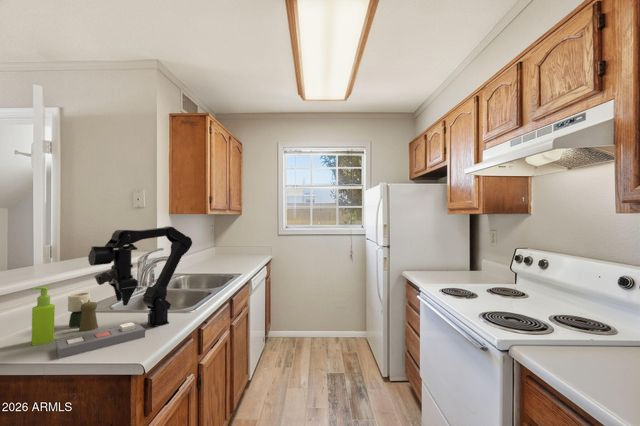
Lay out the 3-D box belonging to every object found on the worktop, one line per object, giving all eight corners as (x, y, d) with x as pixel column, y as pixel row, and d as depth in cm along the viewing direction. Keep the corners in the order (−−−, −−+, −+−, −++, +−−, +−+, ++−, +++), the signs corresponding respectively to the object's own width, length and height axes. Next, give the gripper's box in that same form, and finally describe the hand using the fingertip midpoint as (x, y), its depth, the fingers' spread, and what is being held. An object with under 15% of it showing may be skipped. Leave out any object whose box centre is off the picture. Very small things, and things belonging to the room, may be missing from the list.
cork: (87, 333, 116) (88, 304, 116) (74, 332, 117) (75, 304, 117) (101, 328, 122) (102, 300, 122) (89, 327, 123) (89, 300, 123)
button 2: (132, 330, 114) (132, 322, 114) (135, 332, 111) (135, 324, 111) (119, 333, 111) (119, 324, 111) (122, 335, 108) (122, 327, 108)
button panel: (137, 331, 117) (137, 322, 117) (144, 338, 110) (145, 329, 110) (55, 350, 100) (56, 340, 100) (59, 360, 93) (59, 349, 93)
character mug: (92, 326, 123) (93, 294, 124) (70, 331, 118) (71, 298, 118) (85, 320, 130) (86, 290, 131) (64, 325, 125) (65, 294, 125)
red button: (108, 339, 108) (108, 331, 108) (110, 342, 105) (110, 334, 105) (94, 343, 105) (94, 334, 105) (96, 346, 102) (96, 337, 103)
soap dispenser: (37, 340, 109) (39, 285, 110) (58, 339, 110) (59, 285, 110) (23, 347, 103) (24, 289, 104) (44, 346, 104) (46, 288, 104)
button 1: (81, 345, 103) (82, 337, 103) (83, 349, 100) (84, 340, 100) (66, 349, 100) (66, 340, 100) (68, 353, 97) (68, 343, 97)
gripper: (92, 262, 116) (91, 302, 115) (102, 267, 103) (101, 312, 102) (125, 259, 124) (124, 297, 123) (138, 263, 111) (138, 306, 110)
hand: (121, 303), depth 115 cm, fingers open, 9 cm apart
